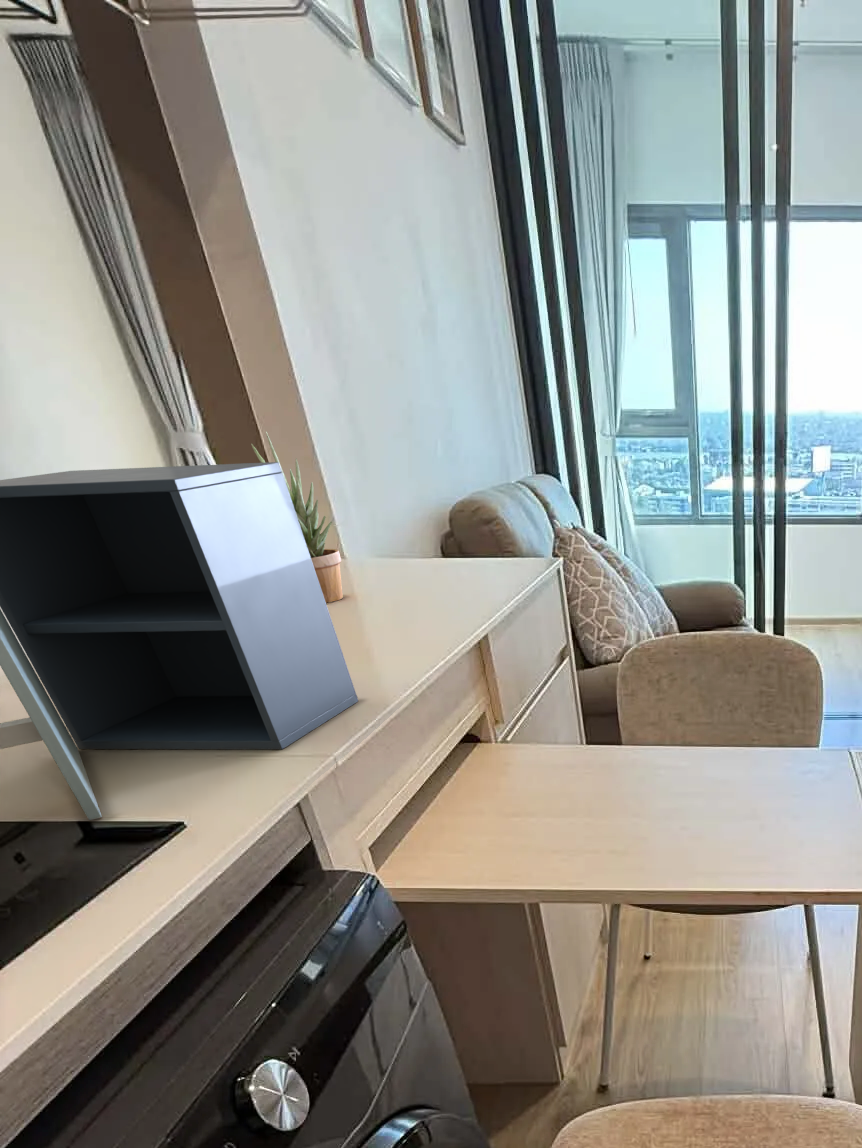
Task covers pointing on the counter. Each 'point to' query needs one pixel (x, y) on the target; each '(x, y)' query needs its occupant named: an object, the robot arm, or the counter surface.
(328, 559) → the potted plant
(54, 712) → the door
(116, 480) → the cupboard
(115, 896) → the counter surface
